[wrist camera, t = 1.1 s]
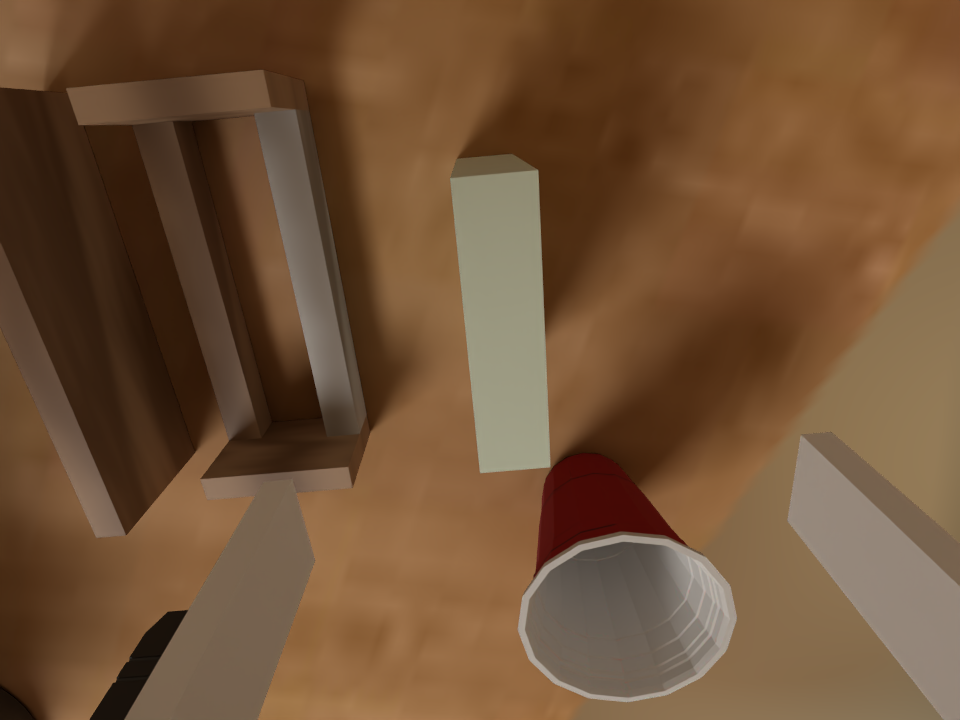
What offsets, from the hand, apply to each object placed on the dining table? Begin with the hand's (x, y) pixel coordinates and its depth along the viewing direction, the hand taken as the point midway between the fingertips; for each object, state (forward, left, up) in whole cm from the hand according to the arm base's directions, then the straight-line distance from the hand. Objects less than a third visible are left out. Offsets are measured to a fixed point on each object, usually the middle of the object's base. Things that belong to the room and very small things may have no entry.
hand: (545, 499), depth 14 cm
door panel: (0, +2, -20) cm, 20 cm away
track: (-16, +2, -20) cm, 25 cm away
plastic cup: (+5, -14, -20) cm, 25 cm away
